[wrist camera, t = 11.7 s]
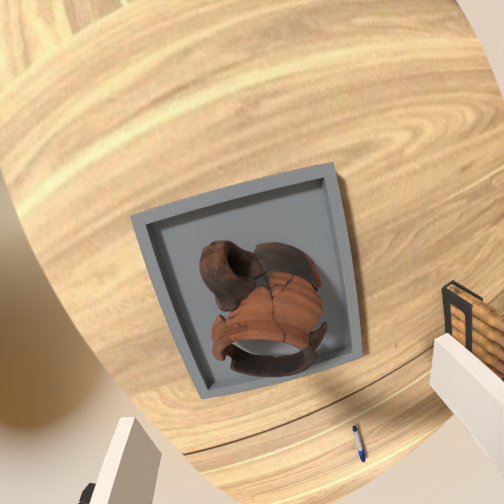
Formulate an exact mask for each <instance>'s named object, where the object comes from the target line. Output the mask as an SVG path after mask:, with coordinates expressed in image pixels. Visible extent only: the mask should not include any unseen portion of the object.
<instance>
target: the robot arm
mask: <svg viewBox="0 0 504 504" xmlns="http://www.w3.org/2000/svg"><path fill="white" fill-rule="evenodd" d="M429 385H430V386H431V387H432V388H433V389H434V391H435V392H436V393H437V394H438V395H439V397H440V398H441V399H442V400H443V401H444V403H445V404H446V405H447V406H448V407H449V409H450V410H451V411H452V412H453V414H454V415H455V416H456V417H457V419H458V420H459V421H460V422H461V423H462V425H463V426H464V427H465V429H466V430H467V431H468V432H469V434H470V435H471V436H472V437H473V439H474V440H475V441H476V443H477V444H478V445H479V446H480V448H481V449H482V450H483V452H484V453H485V454H486V456H487V457H488V458H489V460H490V461H491V462H492V464H493V465H494V466H495V468H496V469H497V471H498V472H499V473H500V474H501V476H502V477H503V476H504V377H503V378H502V379H500V378H499V377H498V376H497V375H496V374H494V373H493V372H492V371H491V370H490V369H489V368H488V367H487V366H486V365H484V364H483V363H482V362H481V361H480V360H479V359H478V358H477V357H475V356H474V355H473V354H472V353H471V352H470V351H468V350H467V349H466V348H465V347H464V346H463V345H461V344H460V343H459V342H458V341H457V340H456V339H454V338H453V337H452V336H451V335H450V334H448V333H446V334H444V335H442V336H440V337H438V338H436V339H435V340H434V351H433V360H432V368H431V376H430V382H429ZM160 459H161V452H160V451H159V449H158V448H157V447H156V446H155V444H154V443H153V442H152V440H151V439H150V437H148V435H147V433H146V432H145V431H144V429H143V428H142V426H141V425H140V423H139V422H138V421H137V419H136V418H135V417H123V418H120V420H119V423H118V426H117V428H116V431H115V433H114V436H113V438H112V441H111V444H110V446H109V449H108V452H107V455H106V457H105V460H104V463H103V466H102V469H101V471H100V474H99V477H98V480H97V483H96V484H93V483H89V484H88V486H87V487H86V488H85V489H84V490H83V492H82V495H81V498H80V500H79V501H80V503H78V504H152V501H153V496H154V490H155V485H156V479H157V474H158V469H159V464H160Z"/></svg>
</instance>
